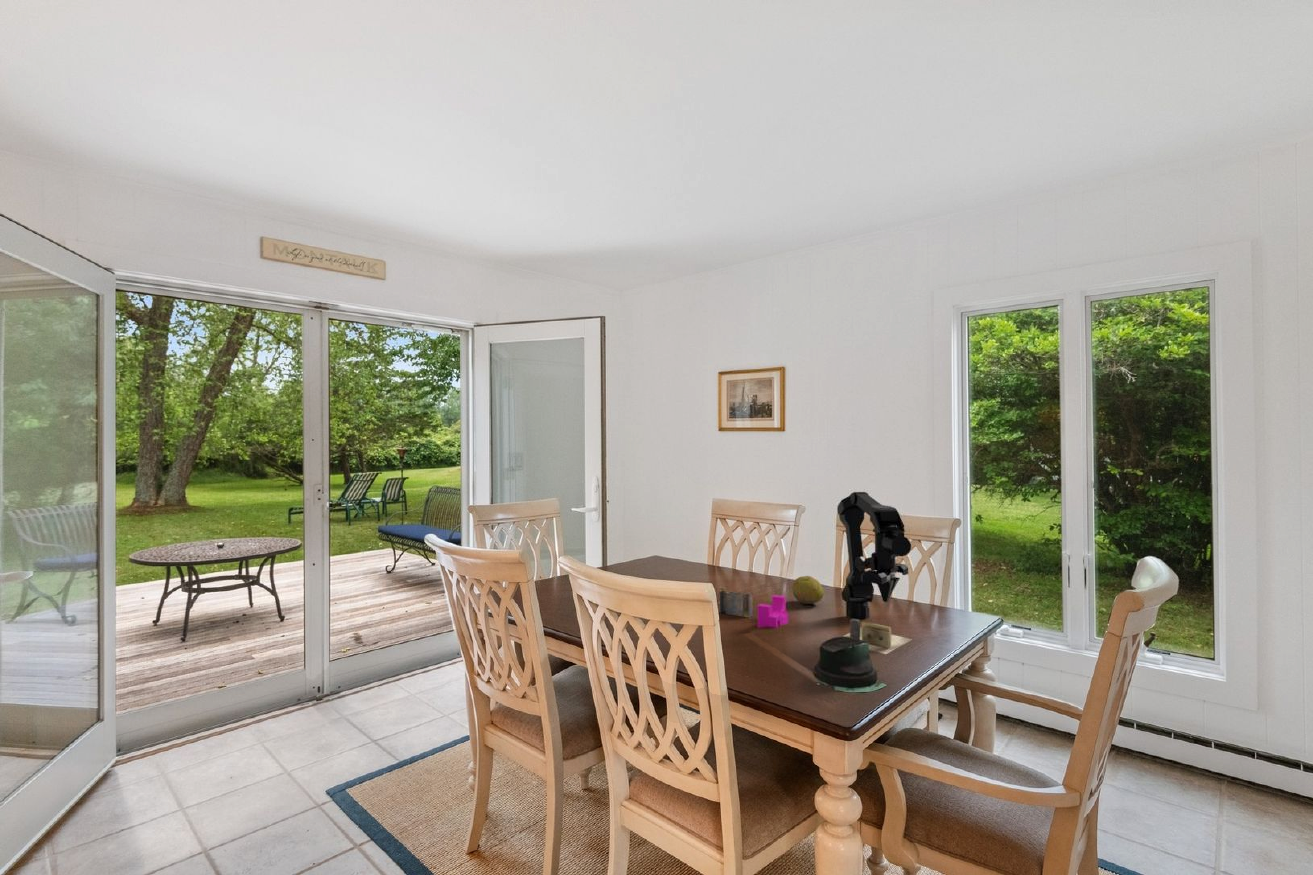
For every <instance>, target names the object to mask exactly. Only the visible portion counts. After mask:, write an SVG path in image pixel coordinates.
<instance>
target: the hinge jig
mask: <svg viewBox="0 0 1313 875" xmlns="http://www.w3.org/2000/svg"><path fill="white" fill-rule="evenodd" d="M843 636H845V637H846V636H847V637H851V638H856V639H861V640H862V627H861V620H860V619H858V618H851V619H850V620H849V633H847V634H845V635H843ZM912 640H913V639H912V638H908V637H905V636H899V635H896V634H891V646H890V647H889V632H888V631H884V630H879V629H875V628H871V627H866V626H863V640H862V641H865V642H867V643H868V645H869V651H872V652H875V653H878V654H882V655H887V654H890V653H891V652H893V651H895V650H896V649H898V648H900V647H902V646H904V645H906V644H907V643H909V642H911V641H912Z"/></svg>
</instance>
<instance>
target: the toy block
mask: <svg viewBox="0 0 1313 875" xmlns="http://www.w3.org/2000/svg"><path fill="white" fill-rule="evenodd" d="M786 604H787V603H786V596H783V595H777V594H774V595H773V596H772V601H771V604H766V603H759V604H758V605H757V628H758V629H759V628H765V627H771V628H778V627H779V626H782V625H783V626H784V625H787V624H789V613H788V612H786V610H787V607H786Z"/></svg>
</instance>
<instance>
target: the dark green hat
mask: <svg viewBox="0 0 1313 875" xmlns="http://www.w3.org/2000/svg"><path fill="white" fill-rule="evenodd" d="M818 649H819V660H818V661H817V663H816V664H815V666H814V668H813V670H814V672H813V676H814V677H815V678H816V679H817V681H818V683H816V685H818V686H820V685H821V684H824V685H825V686H833V687H834V691H839V692H840V691H841V692H844V693H863V692H864V693H865V692H866V693H870V692H875V691H878V690H880V689H882V688H884V687H886V686H887V684H885V683H883V682H882V683H880V684H879V685H878V686H877V684H878V682H879V678H878V673H877V672H880V671H879V670H876V669H875V668H874V667H873V662H872V660H873V659H872V658H871V656H870V650H869V645H868V643H867V642H865V641H862V640H861V639H856V638H851V637H847V636H846V637H845V636H844V635H839V636H834V637H831V638H829V639H827V640H825V641H823V642H822V643H821V645H820V646H819V648H818ZM829 688H830V689H831V688H832V687H829Z"/></svg>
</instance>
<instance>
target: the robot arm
mask: <svg viewBox="0 0 1313 875" xmlns="http://www.w3.org/2000/svg"><path fill="white" fill-rule="evenodd" d="M836 510H837V514H838V516H839V521H840V522H841V524H842V525H843V526H844V528H845V535H846V545H847V554H848V556H847V557H848V565H849V573H847V576H846V578H845V586H844V588H843V590H842V592H841V599H842V600H843V601H844V602H845V612H846V615H845V617H846V618H847V617H850V618H851V619H858V620H860V619H862V620H867V619H869V618H870V605H869V603H872V602H873V600H874V599H873V598H874V593H875V589H874V585H873V584H876V585H877V588H878V589H879V593H880V596H881V599H882V601H883V602H884V603H888V602H889V600H890V598H891V596H892V594H893V592H894V590H895V588H896V586H897V584H898V582H899V581H900V580H901V579H900V577H896V573H898V574H899V573H901V574H902V575H903V576H907V575H909V567H908V566H907V564H904V563H897V562H896V558H898V557H905V556H907V555H908V554H909V553H910V552H911V549H912V544H911V541H910V539H908V538H907V537H906V536H905V532H906V531H905V524H904V521H903V520H902V518H901V514H900V513H899V511H898V510H897V508H896V507H893V506H891V505H884V504H881V503H880V502H878V501H877V500H876V499H874V498H873V497H872V496H870V495H869V493H868V492H866V491H853V492H851V493H850V494H849V495H848V496H847V497H843V499H841V500H840V502H839V503H838V504H837V508H836ZM865 514H866V515H868V516H869V521H870V522H871V524H872V526H873V529H872V532H873V533H874V551H873V552H872V553H871V555H870V557H865V556H864V549H863V541H862V540H863V539H862V531H861V526H862V524H863V522H864V520H865ZM867 569H869V570H867Z"/></svg>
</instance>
